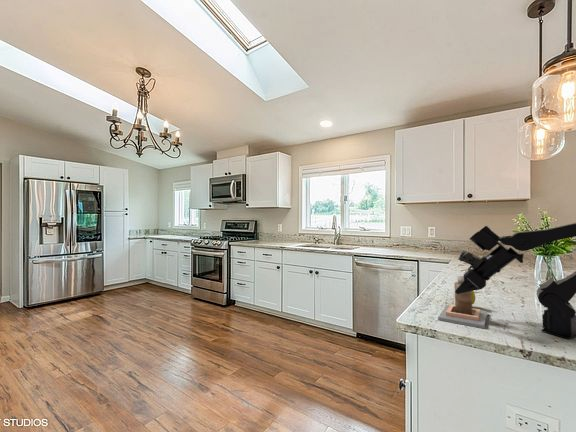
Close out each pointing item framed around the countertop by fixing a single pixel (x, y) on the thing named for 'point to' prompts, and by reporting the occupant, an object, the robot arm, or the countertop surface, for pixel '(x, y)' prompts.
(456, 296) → the pepper mill
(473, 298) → the lemon
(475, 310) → the display stand
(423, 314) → the countertop surface
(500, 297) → the countertop surface
